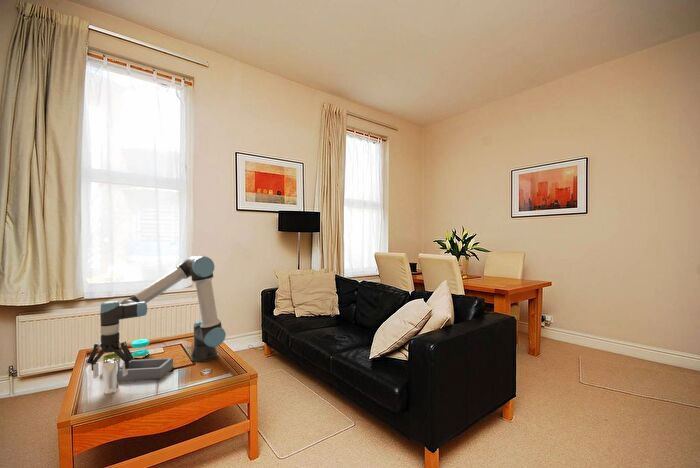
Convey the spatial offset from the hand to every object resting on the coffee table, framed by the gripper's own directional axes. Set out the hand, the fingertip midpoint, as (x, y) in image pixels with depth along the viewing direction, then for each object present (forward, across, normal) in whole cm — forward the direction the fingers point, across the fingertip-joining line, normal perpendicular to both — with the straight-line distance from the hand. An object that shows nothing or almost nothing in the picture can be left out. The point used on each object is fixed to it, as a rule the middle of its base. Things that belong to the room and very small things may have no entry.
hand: (110, 376), depth 163 cm
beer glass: (+8, 0, 0) cm, 8 cm away
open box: (+7, -7, -18) cm, 21 cm away
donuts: (+8, +11, -49) cm, 51 cm away
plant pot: (+8, +15, -27) cm, 32 cm away
